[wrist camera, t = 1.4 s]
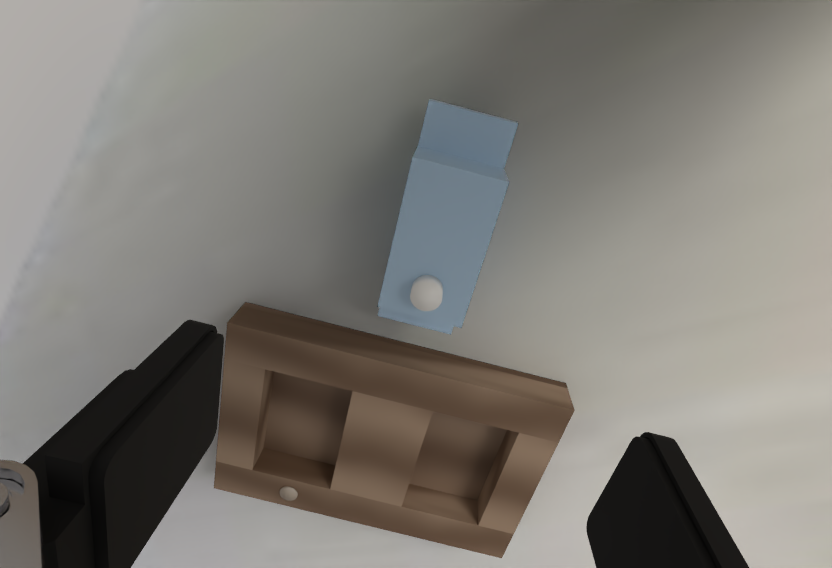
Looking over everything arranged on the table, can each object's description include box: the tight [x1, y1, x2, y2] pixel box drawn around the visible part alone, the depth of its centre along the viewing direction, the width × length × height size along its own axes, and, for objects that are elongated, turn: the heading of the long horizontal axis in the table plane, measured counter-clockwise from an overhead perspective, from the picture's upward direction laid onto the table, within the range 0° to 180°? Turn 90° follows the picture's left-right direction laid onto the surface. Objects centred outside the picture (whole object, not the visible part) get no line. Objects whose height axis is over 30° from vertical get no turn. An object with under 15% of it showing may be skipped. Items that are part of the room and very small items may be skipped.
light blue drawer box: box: [377, 99, 518, 334], centre depth 23 cm, size 11×4×6 cm, turn 166°
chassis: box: [214, 302, 574, 558], centre depth 31 cm, size 13×20×3 cm, turn 76°
